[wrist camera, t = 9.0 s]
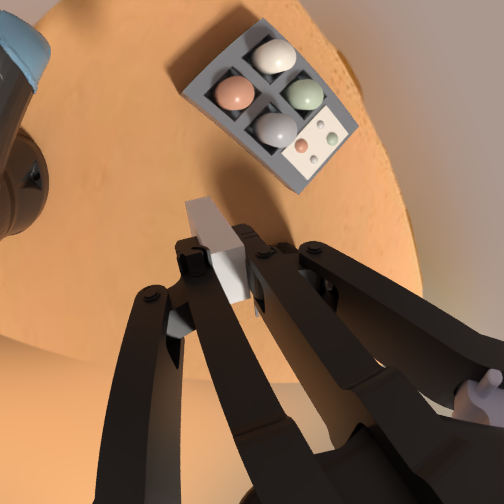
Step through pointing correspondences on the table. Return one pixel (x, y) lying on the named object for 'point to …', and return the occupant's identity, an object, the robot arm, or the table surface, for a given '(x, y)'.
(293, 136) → the button grey
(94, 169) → the table surface
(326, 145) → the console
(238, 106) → the button terracotta
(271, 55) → the button ivory
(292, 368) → the robot arm
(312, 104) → the button sage
